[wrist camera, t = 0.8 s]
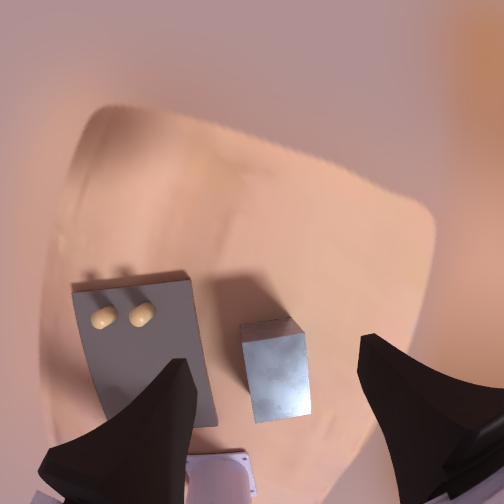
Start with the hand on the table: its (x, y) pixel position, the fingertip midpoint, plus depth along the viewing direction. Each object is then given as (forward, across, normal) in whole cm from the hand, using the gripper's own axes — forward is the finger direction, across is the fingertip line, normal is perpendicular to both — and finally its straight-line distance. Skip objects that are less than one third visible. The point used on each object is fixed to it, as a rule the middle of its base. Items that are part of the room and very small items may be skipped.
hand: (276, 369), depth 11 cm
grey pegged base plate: (+13, +13, +9) cm, 20 cm away
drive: (+14, 0, +10) cm, 17 cm away
